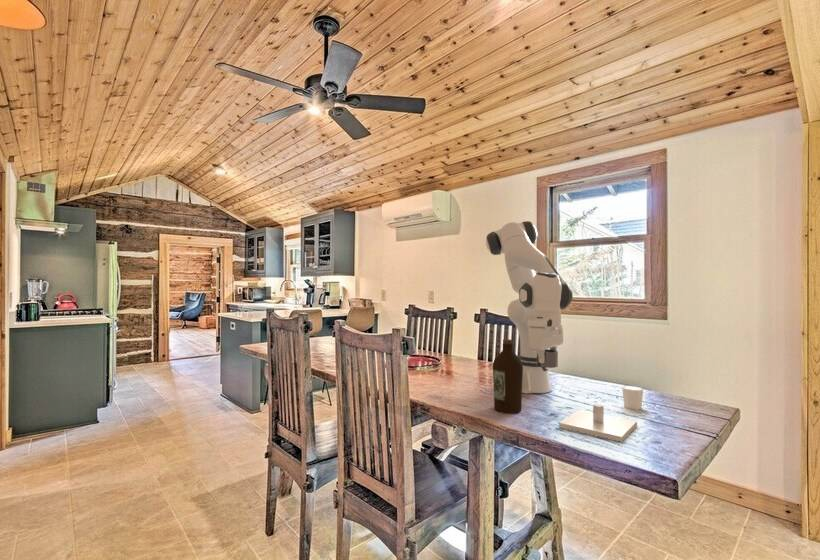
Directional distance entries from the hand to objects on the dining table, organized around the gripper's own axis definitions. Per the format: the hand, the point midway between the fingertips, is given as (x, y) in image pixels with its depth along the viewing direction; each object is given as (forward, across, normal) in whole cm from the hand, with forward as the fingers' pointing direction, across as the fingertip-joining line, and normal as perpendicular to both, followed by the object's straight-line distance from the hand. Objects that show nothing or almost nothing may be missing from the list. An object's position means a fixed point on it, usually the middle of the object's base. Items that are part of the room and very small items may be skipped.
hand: (547, 360), depth 138 cm
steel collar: (+2, 0, 0) cm, 2 cm away
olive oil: (+19, +1, -14) cm, 24 cm away
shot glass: (+19, -32, +19) cm, 42 cm away
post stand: (+19, -2, +16) cm, 25 cm away
